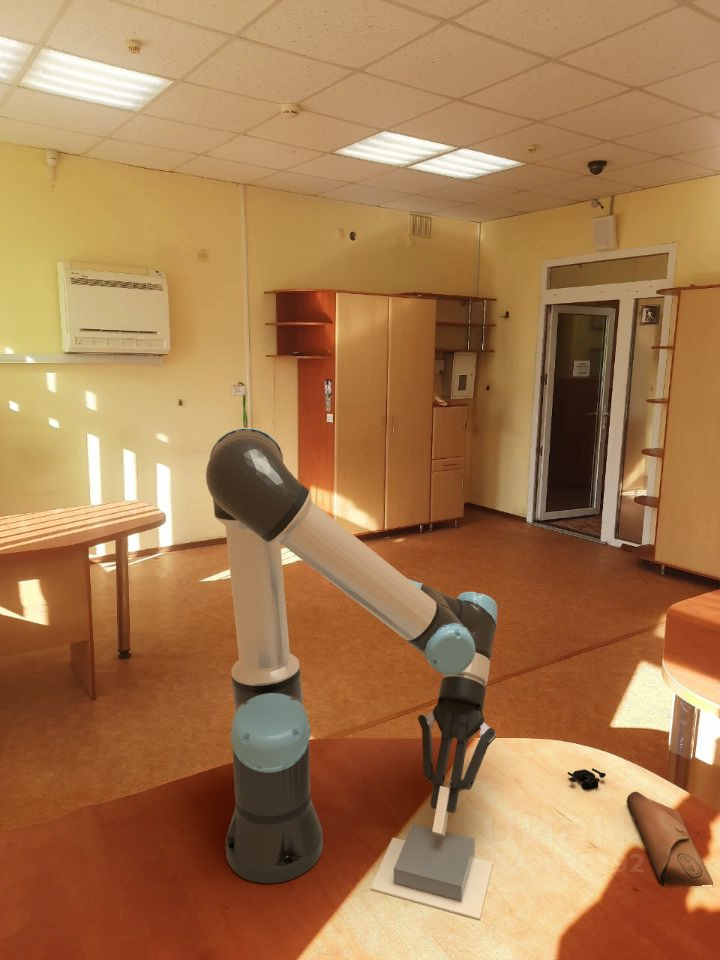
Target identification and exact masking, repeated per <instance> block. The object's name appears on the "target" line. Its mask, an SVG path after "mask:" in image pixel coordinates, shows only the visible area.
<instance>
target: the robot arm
mask: <svg viewBox="0 0 720 960" xmlns="http://www.w3.org/2000/svg"><path fill="white" fill-rule="evenodd" d="M211 449H212V450H211V452H210V456H209V460H208V462H207V465H206V471H205V481H206V486H207V489H208V491H209V494H210V496H211V497H212V503H213V511H214V518H215V519H216V520H218V521H219V522H220V523H221V524H222V525H224V526H225V533H226V535H225V536H226V546H227V554H228V555H227V556H228V562H229V574H230V584H231V592H232V603H233V605H232V606H233V612H234V613H233V614H234V621H235V622H234V623H235V631H236V632H235V633H236V640H237V641H236V642H237V651H238V660H237V661H236V662H235V663H234V665H233V666H232V667H231V671H230V673H231V683H232V693H233V702H234V703H233V704H234V716H233V718H232V724H231V730H230V743H231V746H232V759H233V777H234V778H233V779H234V780H233V781H234V782H233V783H234V800H235V801H234V802H235V804H234V805H235V807H234V811H233V814H232V816H231V820H230V824H229V827H228V829H227V833H226V838H225V854H226V860H227V862H228V865H229V867H230V866H231V867H230V869H232V871H233V872H234V873H236V875H238V876H239V877H241V878H243V879H244V880H247V881H250V882H254V883H258V884H277V883H278V884H279V883H284V882H287V881H288V882H289V881H291V880H293V879H297V877H300V876H301V875H303V874H305V873H307V872H308V871H309V870H310V869H312V868H313V866H315V864H316V863H317V862H318V860H319V859H320V857H321V855H322V851H323V845H324V844H323V843H324V842H323V839H324V838H323V829H322V824H321V822H320V820H319V817H318V814H317V811H316V809H315V807H314V804H313V802H312V800H311V795H312V794H311V766H310V764H311V763H310V762H311V761H310V757H311V756H310V738H311V725H310V720H309V716H308V713H307V710H306V709H305V707H304V699H303V698H304V697H303V696H304V695H303V687H302V676H301V667H300V666H301V665H300V661H299V659H298V657H296V656H295V655H293V654H292V653H291V652H290V651H291V650H290V640H289V629H288V618H287V617H288V616H287V615H288V614H287V608H286V607H287V606H286V593H285V581H284V571H283V560H282V559H283V558H282V557H283V556H282V547H281V545H282V546H283V547H285V548H286V549H287V550H289V551H290V552H291V553H292V554H294V556H296V557H298V558H299V559H301V560H302V562H304V563H306V565H308V566H310V567H311V568H312V570H314V571H316V572H317V573H318V574H320V575H321V576H322V577H323V578H325V579H326V580H327V581H329V582H330V583H332V584H333V585H334V586H335V587H336V588H338V589H339V590H340V591H342V593H344V594H346V595H347V596H348V597H349V598H351V599H352V600H354V601H355V602H356V603H357V604H358V605H360V606H361V607H363V608H364V609H365V610H366V611H368V612H369V613H370V614H371V615H373V616H374V617H375V618H377V620H379V621H381V622H382V623H383V624H384V625H386V626H387V627H388V628H390V629H391V630H393V632H395V633H397V634H398V635H399V636H400V637H401V638H403V639H404V640H405V641H406V642H407V643H409V644H410V646H412V647H413V648H415V649H416V650H417V651H419V652H420V653H421V654H422V655H423V656H424V658H425V659H426V661H427V663H428V664H429V665H430V666H431V667H432V668H433V669H434V670H435V671H437V672H438V673H439V674H442V675H443V677H444V678H442V679H441V681H440V682H441V683H440V688H439V694H438V699H437V703H436V705H435V706H434V707H433V709H432V712H430V713H428V714H426V715H424V714H419V715H418V717H417V720H418V723H419V726H420V728H421V736H422V737H421V739H422V740H421V741H422V744H421V745H422V767H423V769H422V770H423V776H424V778H425V779H426V780H427V781H428V782H429V783H431V784H432V792H431V798H430V807H431V809H434V810H435V814H434V819H433V826H432V829H433V830H432V832H434V833H435V834H437V835H441V836H445V832H447V831H446V829H447V825H448V824H447V823H448V818H449V813H451V814H455V812H457V805H458V797H459V793H460V792H461V791H465V790H467V791H470V790H471V789H472V788H473V785H474V782H475V781H476V778H477V775H478V772H479V771H480V767H481V766H482V762H483V760H484V758H485V755H486V753H487V750H488V747H489V746H490V745H491V744H492V742H493V741H495V740H496V737H497V734H496V731H495V729H494V728H493V727H490V726H488V724H486V723H485V717H484V704H485V699H486V692H487V688H486V687H485V686H487V684H488V680H489V674H490V673H489V672H490V665H491V658H492V652H493V647H494V639H495V634H496V631H497V630H496V629H497V627H498V623H497V620H498V605H497V602H496V601H495V599H493V597H490V596H489V595H487V594H484V593H478V592H476V591H465V592H461V593H459V595H458V596H457V597H453V596H451V595H450V594H449V595H448V594H446V593H444V592H441V591H439V590H437V589H434V588H432V587H430V586H427V585H426V584H424V583H423V582H418V581H415V580H412V579H410V578H409V579H408V578H407V577H406V576H404V575H403V574H402V573H401V572H400V571H398V570H397V568H395V567H394V566H393V565H391V564H390V563H389V562H388V561H386V560H385V559H384V558H383V557H381V556H380V555H379V554H378V553H376V552H375V551H374V550H372V549H371V548H370V547H369V546H367V545H366V544H365V543H364V542H363V541H361V540H360V539H359V538H358V537H356V536H355V534H353V533H352V532H351V531H349V530H347V529H346V528H345V527H344V526H343V525H342V524H340V523H339V522H338V521H337V520H336V519H334V518H333V517H332V516H331V515H329V514H328V513H327V512H326V511H325V510H323V509H322V508H320V506H318V505H317V504H315V502H313V500H312V493H311V490H310V489H308V488H307V487H306V486H305V485H303V484H302V482H300V481H299V480H298V479H297V478H296V477H295V476H294V474H293V473H292V472H291V471H290V470H289V468H288V467H287V466H286V464H285V463H284V455H283V452H282V449H281V447H280V446H279V444H278V442H277V441H276V440H275V438H273V437H272V436H271V435H269V434H268V433H266V432H264V431H262V430H259V429H256V428H253V427H251V428H250V427H242V428H236V429H234V430H233V429H232V430H231V431H228V432H226V433H225V434H224V435H222V436H221V437H219V438H218V440H217V441H216V443H215V444H214V445H213V447H212V448H211ZM434 722H435V723H436V724H437V728H439V730H440V733H441V737H440V746H439V749H438V750H439V751H438V756H437V761H436V767H435V771H434V757H433V737H432V736H433V735H432V729H433V728H434ZM479 730H480V731H479ZM478 731H479V737H480V738H479V740H478V742H477V743H476V746H475V750H474V751H473V755H472V757H471V760H469V764H468V766H467V769H466V771H465V774H464V777H463V771H464V763H465V758H466V753H467V752H466V751H467V747H468V742H469V740H470V739H472V737H474V736H475V734H476V733H477V732H478ZM453 739H456V746H455V753H454V759H453V763H452V764H453V765H452V771H451V777H450V782H449V786H450V787H448V786H445V781H446V780H445V779H446V775H447V768H448V762H449V757H450V750H451V747H452V742H453ZM462 777H463V779H462Z"/></svg>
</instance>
